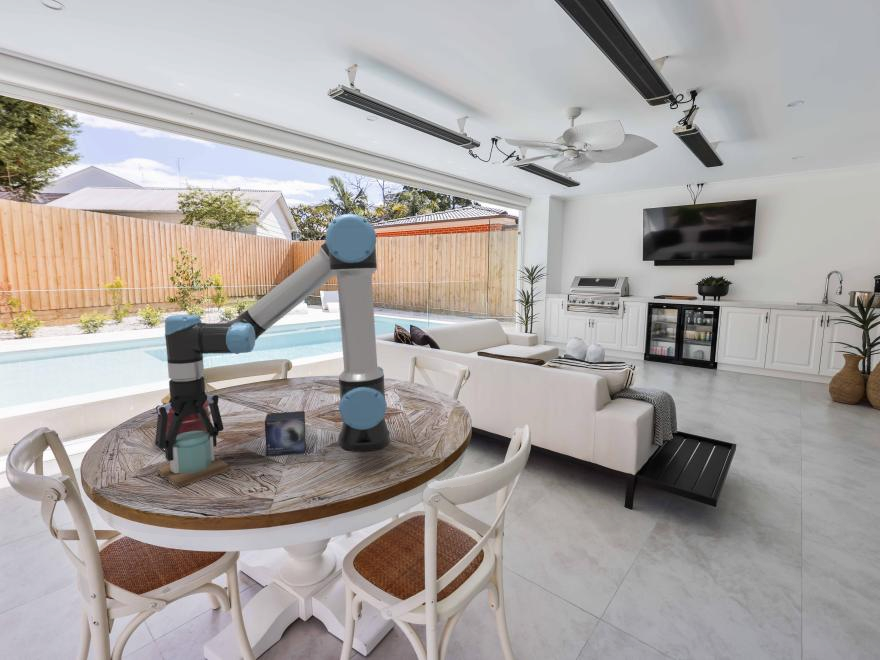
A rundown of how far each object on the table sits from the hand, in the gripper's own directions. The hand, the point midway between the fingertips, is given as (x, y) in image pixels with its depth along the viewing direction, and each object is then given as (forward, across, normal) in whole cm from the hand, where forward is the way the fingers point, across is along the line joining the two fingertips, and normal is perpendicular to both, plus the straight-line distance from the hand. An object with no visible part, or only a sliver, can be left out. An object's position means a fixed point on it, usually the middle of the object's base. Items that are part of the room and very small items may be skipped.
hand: (193, 465), depth 107 cm
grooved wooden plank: (+2, 0, 0) cm, 2 cm away
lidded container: (0, 0, 0) cm, 0 cm away
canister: (+2, -7, -20) cm, 21 cm away
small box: (+2, -22, +7) cm, 23 cm away
